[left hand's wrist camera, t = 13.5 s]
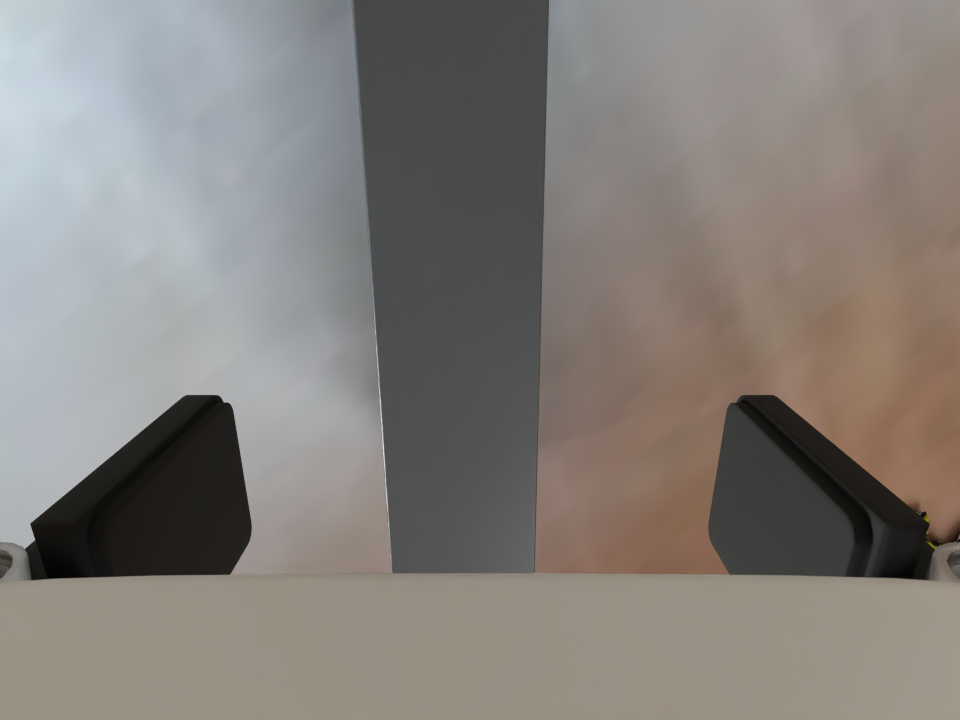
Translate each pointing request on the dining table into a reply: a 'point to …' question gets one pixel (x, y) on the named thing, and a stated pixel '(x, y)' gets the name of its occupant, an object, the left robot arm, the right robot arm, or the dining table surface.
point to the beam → (456, 271)
